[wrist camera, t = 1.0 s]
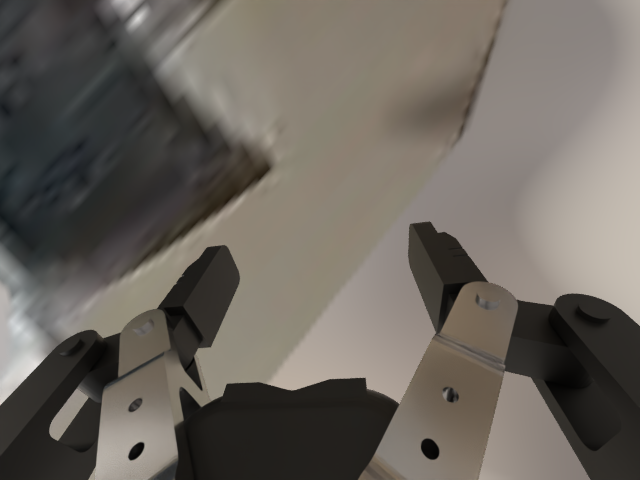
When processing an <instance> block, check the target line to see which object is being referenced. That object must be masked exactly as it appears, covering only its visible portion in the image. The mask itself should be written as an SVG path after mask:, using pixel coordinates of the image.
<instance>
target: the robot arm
mask: <svg viewBox="0 0 640 480" xmlns="http://www.w3.org/2000/svg"><path fill="white" fill-rule="evenodd" d="M408 257H409V264H410V268H411V271H412V273H413V276H414V278H415V281H416V283H417V286H418V288H419V291H420V293H421V296H422V298H423V301H424V303H425V306H426V309H427V311H428V313H429V316H430V319H431V321H432V324H433V326H434V328H435V331H436V334H435V336H434V337H433V338H432V340H431V342H430V344H429V346H428V348H427V350H426V352H425V354H424V356H423V358H422V360H421V362H420V364H419V366H418V368H417V370H416V372H415V374H414V376H413V378H412V380H411V382H410V384H409V386H408V388H407V390H406V392H405V394H404V396H403V398H402V400H401V402H400V404H399V403H397V402H396V401H394V400H393V399H391V398H389V397H388V396H386V395H384V394H381V393H379V392H376V391H373V390H369V389H367V387H366V379H365V378H350V379H329V380H326V381H323V382H320V383H317V384H314V385H310V386H307V387H304V388H301V389H298V390H293V391H291V390H286V389H282V388H278V387H275V386H271V385H267V384H263V383H260V382H257V383H234V384H227V385H226V388H225V391H224V394H223V396H222V397H219V398H217V399H215V400H213V401H211V400H210V397H209V395H208V391H207V388H206V384H205V380H204V377H203V373H202V370H201V366H200V363H199V359H198V357H197V356H196V354H195V353H196V351H197V349H198V348H207V347H211V346H212V343H213V341H214V339H215V337H216V334H217V332H218V330H219V328H220V325H221V323H222V321H223V319H224V316H225V314H226V312H227V310H228V307H229V305H230V303H231V301H232V298H233V296H234V294H235V292H236V289H237V287H238V285H239V281H240V276H239V271H238V269H237V267H236V264H235V262H234V260H233V258H232V255H231V253H230V251H229V249H228V247H227V246H225V245H222V246H213V247H207V248H206V249H205V251H204V252H203V254H202V255H201V256H200V258H199V259H197V260H196V261H195V262H194V263H192V264H191V265H190V266H189V267H188V268H187V269H186V270H185V272H184V273H183V274H182V277H180V278H179V280H178V281H177V282H176V283H177V284H175V285H174V286H173V288H172V289H171V291H170V292H169V293H168V295H167V296H166V297H165V299H164V300H163V301H162V303H161V304H160V305H159V307H158V308H157V309H153V310H149V311H146V312H144V313H142V314H140V315H138V316H137V317H135V318H134V319H132V320H131V321H130V322H129V323H128V324H127V325H126V326H125V327H124V329H123V330H122V332H121V333H118V334H115V335H112V336H109V337H106V338H102V337H101V336H100V335H99V334H98V333H97V332H96V331H94V330H86V331H82V332H80V333H77V334H75V335H73V336H71V337H70V338H68V339H66V340H65V341H63V342H62V343H61V344H60V345H58V346H57V347H56V348H55V349H54V350H53V351H52V352H51V353H50V354H49V355H48V356H47V357H46V358H45V359H44V360H43V361H42V363H41V364H40V365H39V366H38V367H37V368H36V369H35V370H34V371H33V372H32V373H31V374H30V375H29V376H28V377H27V378H26V379H25V380H24V381H23V382H22V383H21V384H20V386H19V387H18V388H17V389H16V390H15V391H14V392H13V393H12V394H11V395H10V396H9V397H8V398H7V399H6V400H5V401H4V402H3V403H2V404H1V405H0V480H88V479H89V477H90V475H91V474H92V472H93V470H94V468H95V467H96V470H95V480H478V479H479V474H480V470H481V466H482V462H483V458H484V454H485V450H486V446H487V441H488V438H489V434H490V429H491V425H492V421H493V417H494V413H495V409H496V405H497V401H498V397H499V393H500V389H501V384H502V380H503V376H504V372H505V371H508V372H511V373H515V374H520V375H524V376H528V377H531V378H532V380H533V382H534V383H535V385H536V387H537V388H538V390H539V392H540V394H541V395H542V397H543V399H544V400H545V402H546V404H547V406H548V407H549V409H550V411H551V412H552V414H553V416H554V418H555V419H556V421H557V423H558V424H559V426H560V428H561V430H562V431H563V433H564V435H565V436H566V438H567V440H568V442H569V443H570V445H571V447H572V449H573V450H574V452H575V454H576V455H577V457H578V459H579V461H580V462H581V464H582V466H583V467H584V469H585V471H586V472H587V474H588V476H589V478H590V479H591V480H640V326H639V325H638V324H637V323H636V322H634V321H633V320H632V319H631V318H630V317H629V316H628V315H627V314H625V313H624V312H623V311H622V310H621V309H619V308H617V307H616V306H614V305H612V304H611V303H608V302H606V301H604V300H602V299H599V298H596V297H593V296H589V295H584V294H566V295H562V296H560V297H559V298H557V300H556V302H555V304H554V306H552V305H545V304H538V303H531V302H525V301H519V300H516V299H515V297H514V296H513V295H512V294H511V293H510V292H509V291H508V290H506V289H504V288H503V287H501V286H499V285H496V284H493V283H489V282H488V281H487V280H486V278H485V277H484V276H483V274H482V273H481V272H480V270H479V269H478V268H477V266H476V265H475V264H474V262H473V261H472V260H471V258H470V257H469V256H468V254H467V253H466V251H465V250H464V249H462V247H461V245H460V244H459V242H458V241H457V239H456V238H454V237H452V236H451V235H449V234H447V233H445V232H442V233H437V231H436V230H435V228H434V227H433V225H432V224H431V222H422V223H414V224H410V227H409V250H408ZM76 388H77V389H79V390H80V391H81V392H83V393H84V394H85V395H87V396H88V397H89V398H88V399H87V401H86V402H85V404H84V405H83V407H82V408H81V409H80V411H79V412H78V414H77V415H76V416H75V418H74V419H73V421H72V422H71V424H70V425H69V426H68V428H67V429H66V431H65V432H64V434H63V435H62V436H61V438H60V439H59V441H57V440H55V439H53V438H52V437H51V436H50V434H49V428H50V424H51V422H52V420H53V418H54V417H55V416H56V414H57V413H58V412H59V410H60V409H61V408H62V407H63V405H64V404H65V403H66V401H67V400H68V399H69V397H70V396H71V395H72V393H73V392H74V391H75V390H76Z"/></svg>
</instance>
